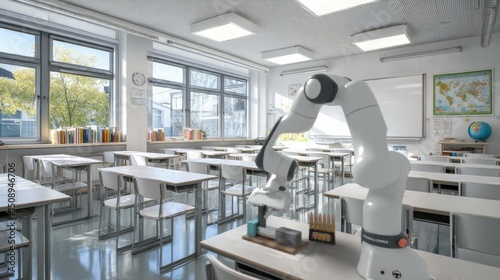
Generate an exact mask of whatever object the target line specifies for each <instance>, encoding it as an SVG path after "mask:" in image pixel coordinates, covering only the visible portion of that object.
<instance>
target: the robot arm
mask: <svg viewBox="0 0 500 280" xmlns="http://www.w3.org/2000/svg"><path fill="white" fill-rule="evenodd" d="M323 106H328V107H329V106H330V107H337V106H340V108H341V109H342V112H343V115H344V118H345V121H346V124H347V127H348V130H349V133H350V135H351V139H352V146H353V159H354V160H353V163H352V167H351V176H352V178H353V180H354V181H355V183H356V184H358V185H359V186H360V187H361V188H365V189H368V191H367V195H366V197H365V199H364V201H363V205H362V226H361V229H360V243H361V249H360V255H359V259H358V260H359V261H358V263H357V266H356V272H357V273H358V274H359V276H361V277H363V278H364V279H365V280H437V278H436V277H435V276H434V275H432V274H430V271H429V267H428V266H429V265H428V264H427V262H426V260H425V259H424V257H422V256H421V255H420V254H419V253H417V251H415V250H414V249H413V248H411V246H410V245H409V233H407V234H405V233H404V232H403V231H402V211H403V210H402V207H403V201H404V198H405V197H404V196H405V192H406V187H407V181H408V178H409V175H410V172H411V168H412V166H411V165H412V164H411V161H410V159H408V157H407V156H406V155H405V154H403V153H401V152H399V151H396V150H390V149H389V146H388V138H387V137H388V136H387V135H388V126H387V122H386V120H385V119H384V115H383V113H382V110H381V107H380V105H379V102H378V100H377V98H376V96H375V93H374V92H373V90H372V89H371V87H370V86H369V84H368V83H367V82H366V81H364V80H363V79H362V80H361V79H355V80H353V79H351V78H349V77H346V76H340V75H337V74H332V73H326V74H325V73H316V74H311V75H310V76H309V77H308V78H307V79H306V81H305V83H304V85H302V86H301V87H300V88H299V89H298V91H297V93H296V94H295V97H294V99H293V101H292V104H291V106H290V109H289V110H288V112H287V113H286V115H284V116H280V117H279V118H278V119H277V120H276V122H275V123H274V125H273V127H272V128H271V130H270V131H269V134H268V136H267V137H266V139H265V140H264V143H263V145H262V147H261V148H260V149H259V150H258V152H257V153H256V155H255V157H254V162H255V163H254V164H255V166H256V167H257V169H259V170H261V171H265V172H268V173H270V174H271V177H270V178H268V179H267V182H266V184H265V186H264V188H261V187H258V188H255V189H254V190H253V191H252V193H250V195H249V196H248V198H247V200H246V202H247V204H248V205H249V207H253V208H256V212H255V217H256V218H258V205H261V204H265V205H266V213H264V214H263V218H264V219H266V220H268V218H269V217H270V216H271V215H272V214H274V212H276V213H279V214H287V213H288V212H289V211H290V208H291V206H292V200H293V198H294V195H293V194H292V192H291V191H290V189H289V188H288V187H287V186H288V184H289V183H290V182H292V181H293V180H294V177H295V175H296V173H297V172H298V169H299V168H298V167H299V166H298V163H297V161H296V160H295V159H294V158H293V157H290V156H288V155H285V154H282V153H280V152H278V151H276V150H274V146H275V144H276V142H277V141H278V139H279V137H280V136H281V135H284V134H303V133H306V132H308V131H310V130H311V129H313V127H314V125H315V123H316V121H317V118H318V116H319V112H320V111H321V109H322V107H323Z"/></svg>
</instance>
